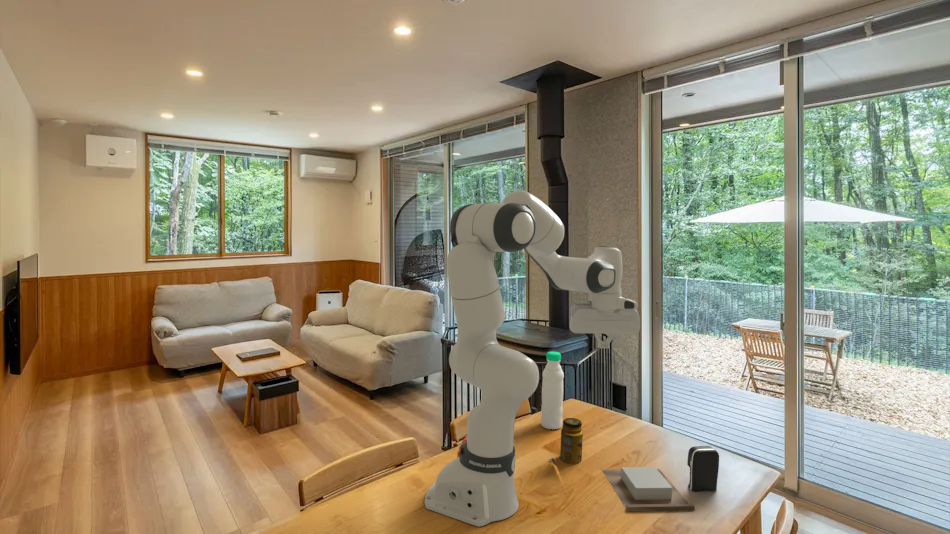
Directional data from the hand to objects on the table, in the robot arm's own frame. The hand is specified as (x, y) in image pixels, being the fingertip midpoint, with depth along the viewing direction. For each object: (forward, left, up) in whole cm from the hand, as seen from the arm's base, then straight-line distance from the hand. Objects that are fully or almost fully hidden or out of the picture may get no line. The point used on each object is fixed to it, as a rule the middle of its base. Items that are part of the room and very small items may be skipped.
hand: (603, 347), depth 142 cm
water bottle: (-16, +12, -31) cm, 37 cm away
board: (+12, -20, -31) cm, 39 cm away
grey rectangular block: (+10, -15, -29) cm, 34 cm away
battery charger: (+26, -15, -31) cm, 43 cm away
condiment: (-8, -11, -31) cm, 34 cm away
